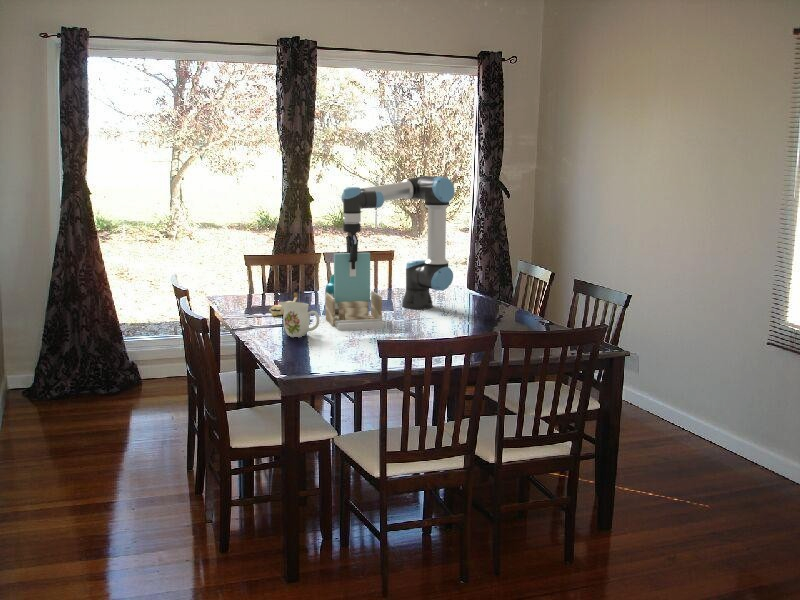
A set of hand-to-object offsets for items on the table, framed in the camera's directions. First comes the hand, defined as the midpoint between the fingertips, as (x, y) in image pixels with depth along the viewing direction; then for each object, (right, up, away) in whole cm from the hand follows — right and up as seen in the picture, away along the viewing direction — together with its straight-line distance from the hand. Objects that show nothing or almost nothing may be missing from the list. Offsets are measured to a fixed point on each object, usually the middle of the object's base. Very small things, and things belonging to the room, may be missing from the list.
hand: (352, 275), depth 354 cm
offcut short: (+2, -21, -4) cm, 22 cm away
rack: (+1, -22, +1) cm, 22 cm away
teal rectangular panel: (0, -12, +2) cm, 12 cm away
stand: (+4, -24, -10) cm, 26 cm away
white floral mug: (-21, -26, -22) cm, 40 cm away
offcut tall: (+1, -20, 0) cm, 20 cm away
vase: (-9, -18, +20) cm, 28 cm away
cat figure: (-33, -17, +27) cm, 46 cm away
